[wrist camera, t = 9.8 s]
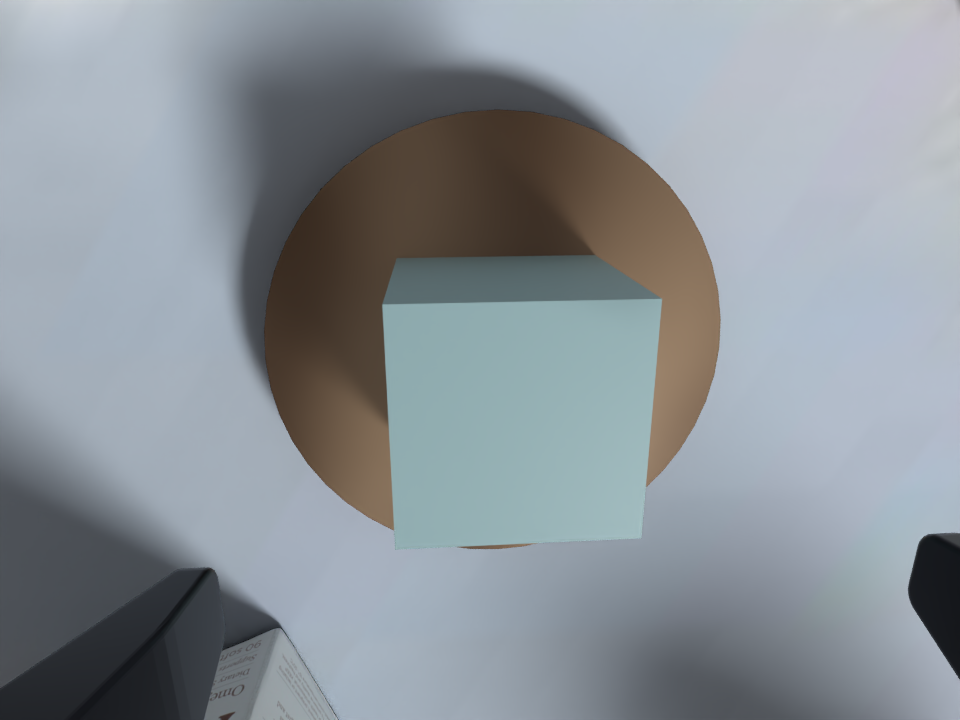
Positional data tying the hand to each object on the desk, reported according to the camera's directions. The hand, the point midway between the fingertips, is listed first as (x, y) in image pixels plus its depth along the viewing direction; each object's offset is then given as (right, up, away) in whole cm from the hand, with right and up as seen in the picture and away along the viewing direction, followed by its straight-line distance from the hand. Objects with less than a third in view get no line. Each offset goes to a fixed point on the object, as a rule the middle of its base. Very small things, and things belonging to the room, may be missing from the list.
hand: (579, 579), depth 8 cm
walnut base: (-1, +3, +10) cm, 11 cm away
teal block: (-1, +3, +9) cm, 9 cm away
